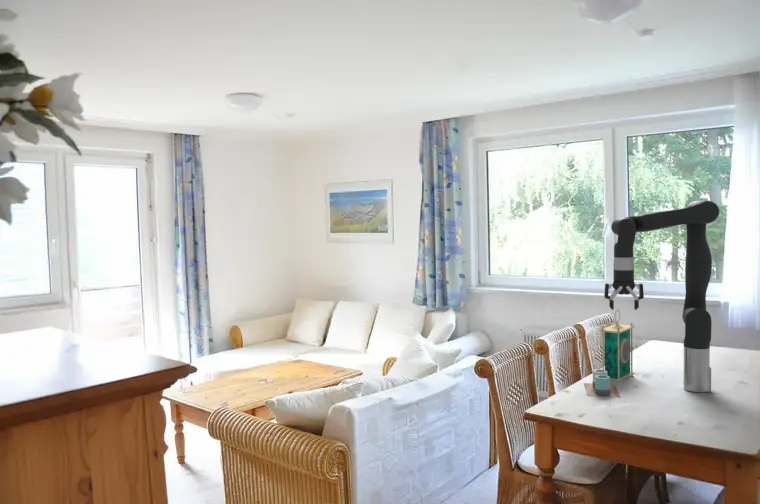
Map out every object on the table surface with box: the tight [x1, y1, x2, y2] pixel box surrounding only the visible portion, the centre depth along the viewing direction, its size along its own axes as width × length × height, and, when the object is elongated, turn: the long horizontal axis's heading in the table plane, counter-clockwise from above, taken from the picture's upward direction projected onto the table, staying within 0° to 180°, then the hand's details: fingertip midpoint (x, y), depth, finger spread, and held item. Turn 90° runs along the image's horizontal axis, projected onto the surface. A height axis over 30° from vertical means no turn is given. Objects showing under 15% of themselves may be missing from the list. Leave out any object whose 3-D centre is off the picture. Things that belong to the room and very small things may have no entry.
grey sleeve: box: [592, 368, 607, 388], centre depth 240 cm, size 5×5×6 cm
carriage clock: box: [599, 309, 636, 382], centre depth 256 cm, size 17×9×30 cm, turn 137°
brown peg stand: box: [583, 382, 621, 399], centre depth 235 cm, size 12×18×6 cm, turn 165°
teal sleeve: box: [595, 375, 611, 395], centre depth 231 cm, size 5×5×6 cm
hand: (623, 309), depth 235 cm, fingers open, 8 cm apart
